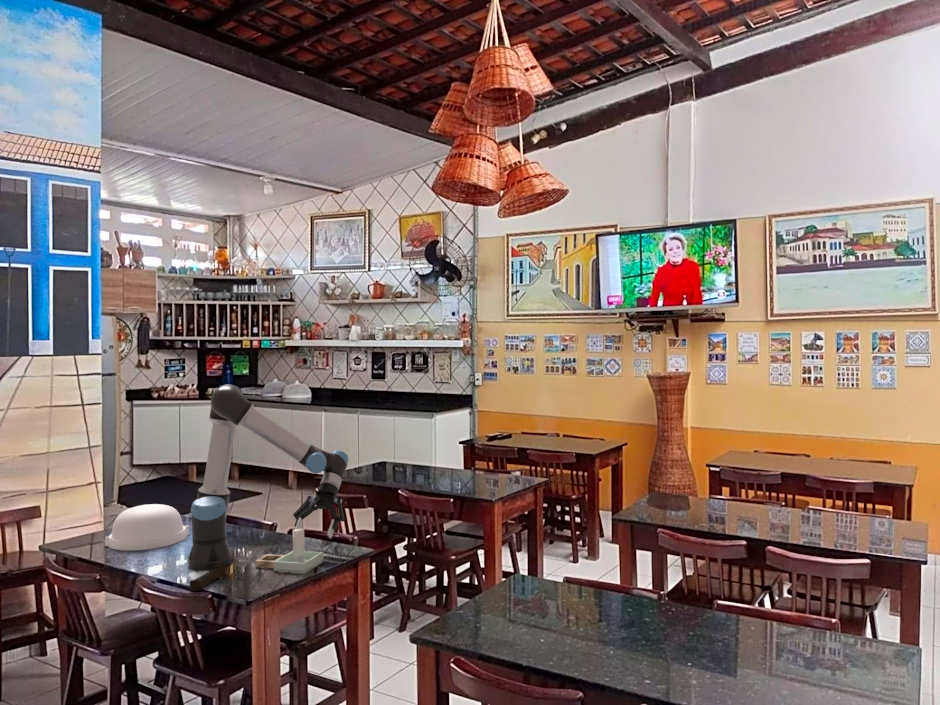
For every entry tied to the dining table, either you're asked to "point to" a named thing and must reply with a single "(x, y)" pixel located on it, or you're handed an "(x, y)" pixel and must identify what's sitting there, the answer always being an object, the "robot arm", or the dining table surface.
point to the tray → (293, 567)
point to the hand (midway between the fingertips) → (312, 535)
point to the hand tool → (208, 577)
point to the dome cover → (147, 528)
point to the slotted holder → (267, 561)
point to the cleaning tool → (298, 546)
